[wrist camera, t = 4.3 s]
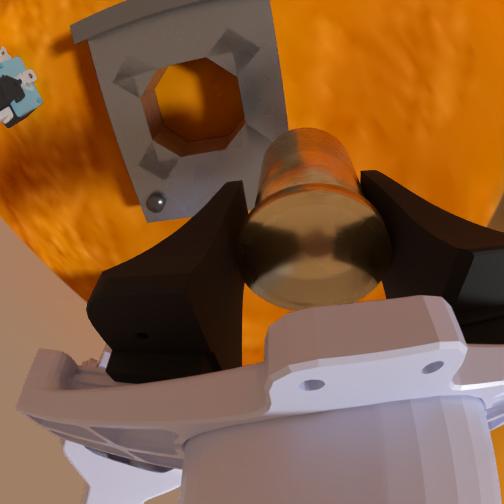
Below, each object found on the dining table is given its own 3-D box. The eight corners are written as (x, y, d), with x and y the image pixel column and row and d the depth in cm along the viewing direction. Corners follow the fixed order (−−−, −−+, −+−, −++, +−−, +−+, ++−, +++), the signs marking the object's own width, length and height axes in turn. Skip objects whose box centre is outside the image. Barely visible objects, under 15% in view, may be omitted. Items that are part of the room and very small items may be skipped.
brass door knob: (356, 209, 15) (381, 307, 10) (263, 215, 15) (250, 314, 11) (356, 118, 12) (400, 190, 7) (247, 126, 13) (220, 202, 8)
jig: (293, 186, 21) (298, 218, 18) (157, 203, 23) (140, 236, 20) (264, -20, 12) (264, -33, 9) (103, 22, 14) (69, 25, 11)
